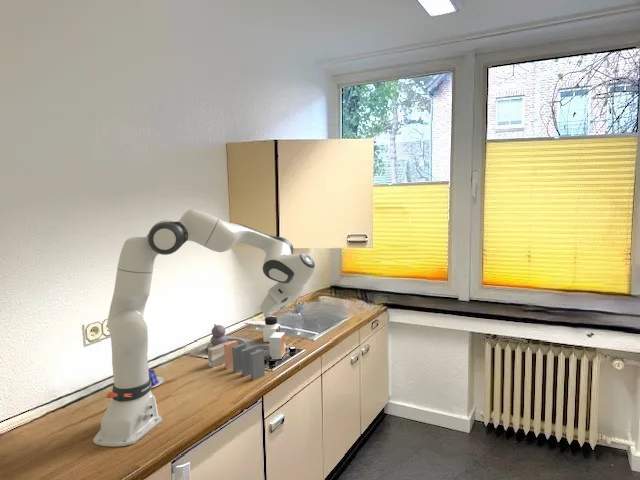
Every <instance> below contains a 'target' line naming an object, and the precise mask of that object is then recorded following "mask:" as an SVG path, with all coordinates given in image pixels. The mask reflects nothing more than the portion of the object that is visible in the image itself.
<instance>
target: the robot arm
mask: <svg viewBox="0 0 640 480" xmlns="http://www.w3.org/2000/svg"><path fill="white" fill-rule="evenodd" d="M188 241H189V242H194V243H196V244H198V245H199V246H200V245H201V246H203V247H204V248H206V249H207V250H208V249H209V250H211V251H213V252H217V253H223V252H224V253H225V252H227V251H229V250H231V249H232V248H234V247H235V246H236V245H240V244H247V245H249V246H252V247H254V248H257V249H260V250H262V251H263V252H264V253H265V256H264V259H263V264H262V271H263V274H264V276H265V277H267V278H268V279H269V280H271V281H275V282H277V283H276V284H274V285H273V286H271V287H270V288H269V289H268V291H267V293H268V294H267V295H266V296H265V297H264V299H263V301H262V302H261V304H260V307H259V309H260V311H261V313H263V316H264V319H265V318H267V317H269V316H271V313H273V312H275V311H276V310H279V309H280V310H284V309H286V306H288V305H289V304H290V303H292V302H295V301H296V300H298V299H299V297H300V296H301V294H302V292H303V290H304V285H306V284H308V281H309V280H310V279H311V277H312V276H313V274H314V271H315V268H316V265H315V260H314V259H313V258H312V256H310V255H309V254H308V253H307V252H300V253H296V254H294V245H293V244H292V242H291V241H290V240H288V239H287V238H285V237H281V236H274V235H272V234H271V235H270V234H268V233H265V232H262V231H260V230H258V229H255V228H252V227H250V226H247V225H244V224H241V223H232V222H229V221H226V220H223V219H221V218H219V217H217V216H214V215H213V214H212V213H211V214H210V213H207V212H205V211H202V210H198V209H196V208H195V209H194V208H192V209H188V210H186V211H185V212H184V213H183V214H182V216H181V217H180V219H179V220H178V221H172V220H167V219H165V220H160V221H158V222H157V223H154V225H152V227H151V228H150V230H149V231H148V233H147V235H146V236H132V237H129V238H128V239H126V240H125V241H124V242H123V245H122V248H121V251H120V254H119V257H118V263H117V266H116V267H117V268H116V276H115V282H114V287H113V288H114V289H113V293H112V294H113V295H112V299H111V301H110V302H111V303H110V305H109V312H108V316H107V324H106V325H107V329H108V332H109V335H110V343H111V345H110V346H111V364H112V366H111V367H112V375H113V385H112V389H111V391H108V392H107V393H106V398H107V399H111V401H110V402H109V404H108V406H107V408H106V411H105V412H104V414H103V417H102V418H101V422H100V429H99V431H98V432H97V433H96V435H94V438H93V439H92V441H93V442H92V443H93V444H95V445H97V446H102V447H124V446H130V445H133V444H135V443H136V442H138V441H139V440H140V439H141V438H142V437H144V436H145V435H146V434H147V433H149V432H150V431H151V430H152V429H154V428H155V427H156V426H157V425H159V424H160V423H161V422H162V421H163V419H162V416H161V415H159V411H158V405H157V401H156V397H155V395H154V394H153V392H152V390H151V389H152V388H151V387H152V386H151V379H150V377H149V360H148V350H149V349H148V348H149V345H148V341H149V339H148V337H149V336H148V325H147V322H146V321H145V320H144V312H145V308H146V305H147V301H148V298H149V296H150V292H151V286H152V278H153V271H154V264H155V261H156V257H157V256H158V255H164V256H167V255H172V254H174V253H175V252H177V251H178V250H179V249H180V248H181V247H182V246H183V245H184V244H185V243H186V242H188Z"/></svg>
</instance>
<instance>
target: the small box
mask: <svg viewBox="0 0 640 480" xmlns="http://www.w3.org/2000/svg"><path fill="white" fill-rule="evenodd" d="M286 338H287V337H286V332H285V331H283V332H282V331H280V332H274V333H273V334H272V335H271V337H269V342H268V343H269V357H270V356H273V357H275V358H281V359H282V357H283V356H284V354H285V353H286V354H287V343H286ZM284 357H285V356H284ZM284 357H283V358H284ZM282 360H283V359H282Z"/></svg>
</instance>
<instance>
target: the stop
mask: <svg viewBox="0 0 640 480" xmlns="http://www.w3.org/2000/svg"><path fill="white" fill-rule="evenodd" d="M229 342H232V341H231V340H227V342H225V343H222V344H220V345H217V346H214V345H213V346H214V347H213V346H212V347H208V348H207V356H208V357H207V358H208V359H207V361H208V367H210V368H216V367H218V366H221V365H223V364H225V355H224V344H226V343H229Z"/></svg>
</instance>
